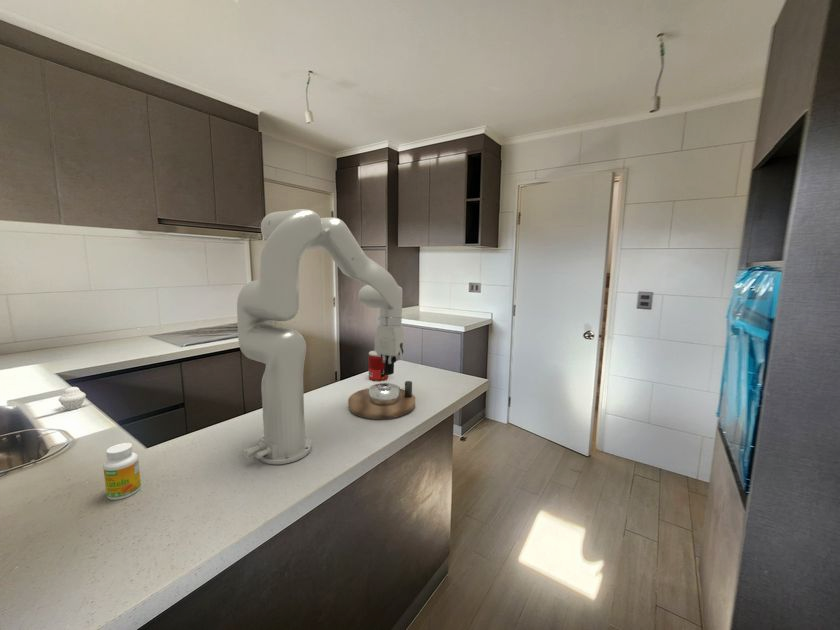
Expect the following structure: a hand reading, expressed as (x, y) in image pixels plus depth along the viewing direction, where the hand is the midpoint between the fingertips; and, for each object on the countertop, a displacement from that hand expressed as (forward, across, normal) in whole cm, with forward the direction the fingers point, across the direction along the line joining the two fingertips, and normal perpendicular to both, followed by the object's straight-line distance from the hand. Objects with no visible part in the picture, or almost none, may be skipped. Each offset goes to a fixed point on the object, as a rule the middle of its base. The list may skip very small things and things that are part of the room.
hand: (389, 373), depth 122 cm
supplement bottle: (+12, -9, -71) cm, 72 cm away
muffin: (+12, -73, -68) cm, 100 cm away
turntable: (+9, +2, -6) cm, 11 cm away
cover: (+7, +4, -6) cm, 10 cm away
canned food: (+9, -18, +14) cm, 24 cm away
